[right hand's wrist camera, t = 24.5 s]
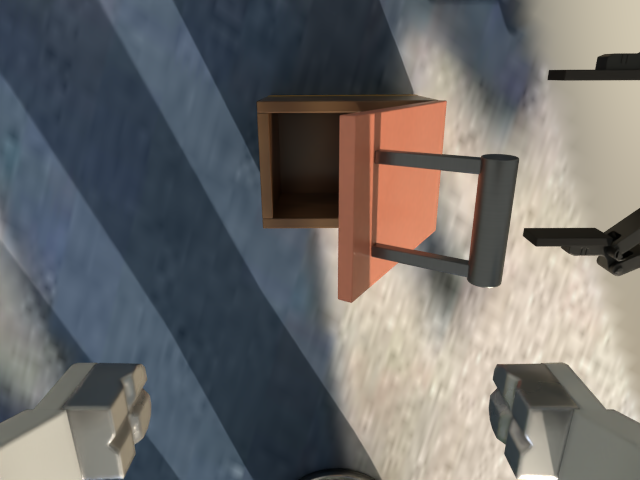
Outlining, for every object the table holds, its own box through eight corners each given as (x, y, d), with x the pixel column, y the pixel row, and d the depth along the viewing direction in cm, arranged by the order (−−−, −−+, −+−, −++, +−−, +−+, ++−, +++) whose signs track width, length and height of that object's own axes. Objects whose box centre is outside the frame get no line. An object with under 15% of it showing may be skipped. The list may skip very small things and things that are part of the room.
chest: (273, 199, 46) (262, 228, 37) (269, 95, 43) (256, 101, 34) (408, 198, 46) (429, 227, 37) (414, 94, 43) (439, 99, 34)
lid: (337, 299, 26) (484, 339, 22) (339, 115, 22) (513, 122, 18) (424, 228, 37) (531, 246, 33) (434, 100, 34) (554, 103, 30)
